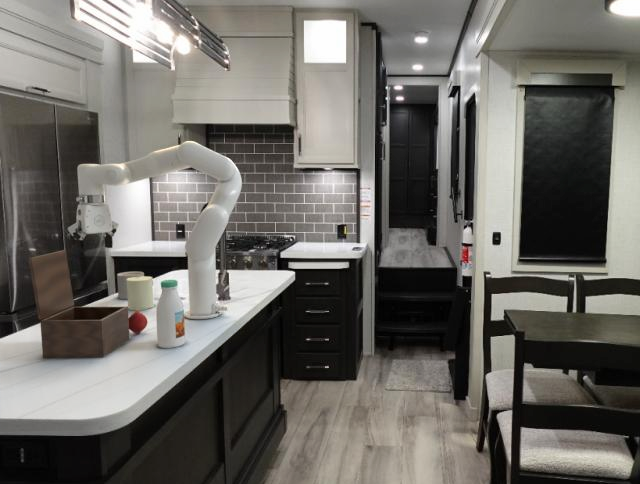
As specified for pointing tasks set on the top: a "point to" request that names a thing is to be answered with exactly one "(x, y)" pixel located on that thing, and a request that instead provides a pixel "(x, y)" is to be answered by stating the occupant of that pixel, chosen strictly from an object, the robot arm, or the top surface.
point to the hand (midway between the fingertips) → (95, 249)
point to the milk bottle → (170, 316)
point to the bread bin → (84, 332)
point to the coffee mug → (125, 282)
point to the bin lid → (51, 283)
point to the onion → (137, 322)
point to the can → (140, 293)
